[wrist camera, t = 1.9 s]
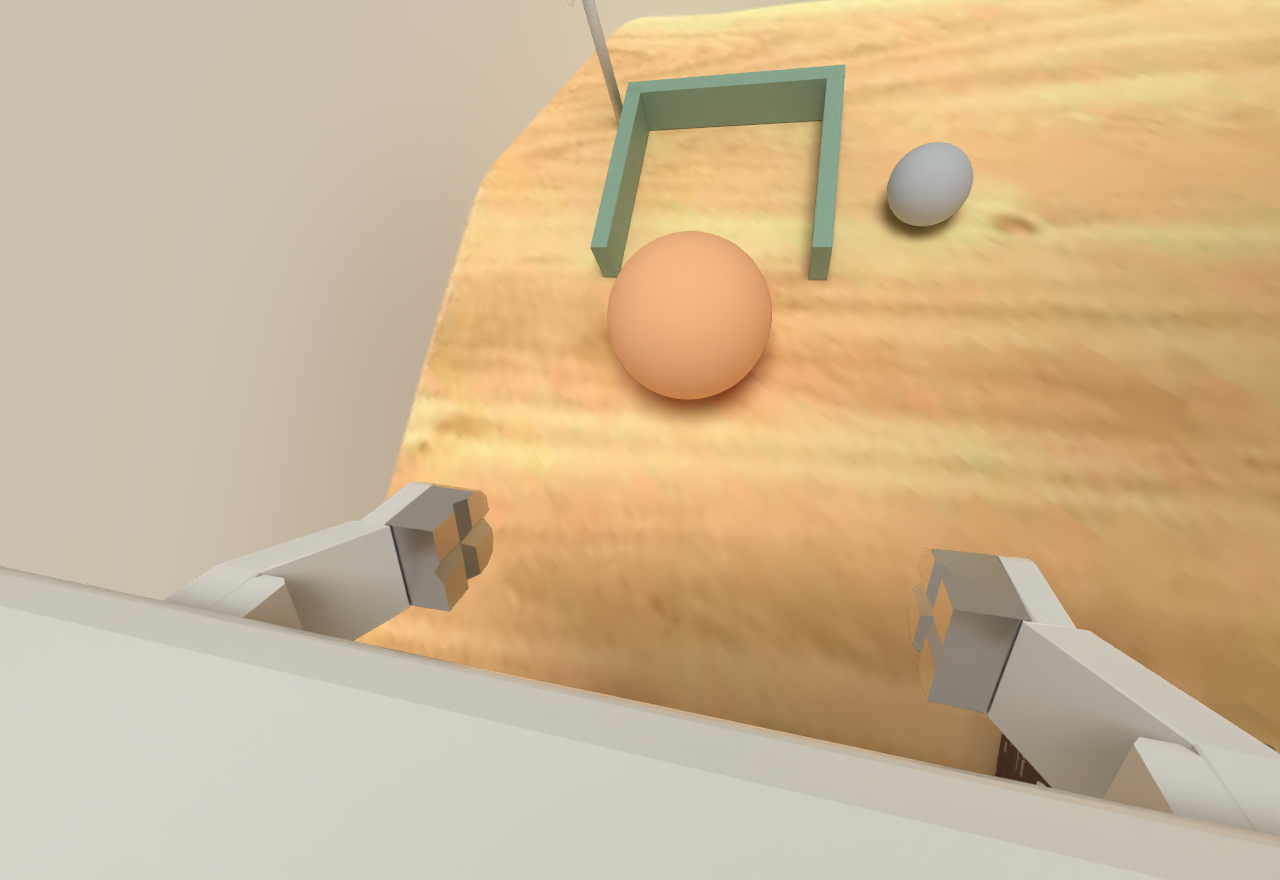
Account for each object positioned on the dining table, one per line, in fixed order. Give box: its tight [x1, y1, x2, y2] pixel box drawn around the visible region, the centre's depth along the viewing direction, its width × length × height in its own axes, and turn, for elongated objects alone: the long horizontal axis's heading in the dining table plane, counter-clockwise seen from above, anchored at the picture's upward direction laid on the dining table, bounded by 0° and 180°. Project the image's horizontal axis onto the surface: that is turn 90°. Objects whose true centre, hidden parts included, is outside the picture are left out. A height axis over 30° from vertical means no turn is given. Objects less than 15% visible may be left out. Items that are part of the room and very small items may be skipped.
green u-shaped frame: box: [567, 0, 845, 280], centre depth 36 cm, size 16×18×14 cm
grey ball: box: [887, 142, 973, 226], centre depth 36 cm, size 5×5×5 cm
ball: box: [607, 231, 772, 399], centre depth 34 cm, size 10×10×10 cm
